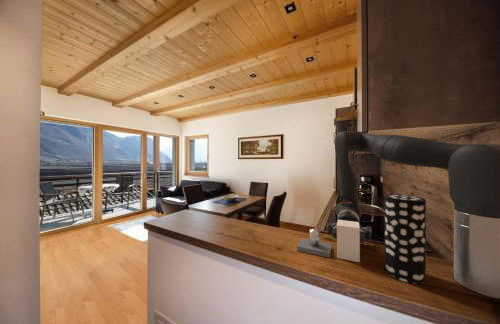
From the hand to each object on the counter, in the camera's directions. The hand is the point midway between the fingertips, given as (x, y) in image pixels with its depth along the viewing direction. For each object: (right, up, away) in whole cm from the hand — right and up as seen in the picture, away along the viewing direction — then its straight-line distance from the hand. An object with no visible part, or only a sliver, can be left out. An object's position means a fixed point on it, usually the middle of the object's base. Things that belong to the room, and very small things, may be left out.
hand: (348, 237), depth 57 cm
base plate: (-8, -6, +6) cm, 12 cm away
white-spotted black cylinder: (+11, -7, -7) cm, 15 cm away
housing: (+1, -6, +2) cm, 7 cm away
